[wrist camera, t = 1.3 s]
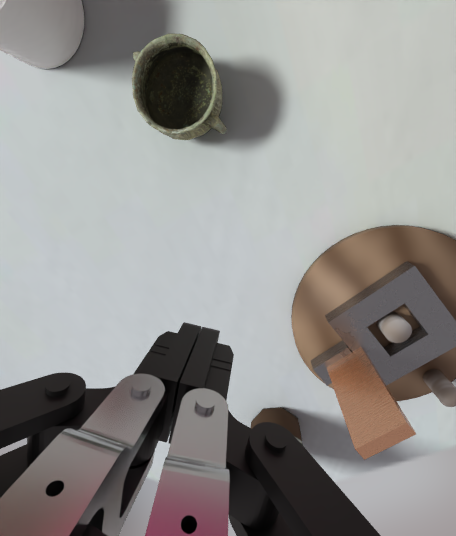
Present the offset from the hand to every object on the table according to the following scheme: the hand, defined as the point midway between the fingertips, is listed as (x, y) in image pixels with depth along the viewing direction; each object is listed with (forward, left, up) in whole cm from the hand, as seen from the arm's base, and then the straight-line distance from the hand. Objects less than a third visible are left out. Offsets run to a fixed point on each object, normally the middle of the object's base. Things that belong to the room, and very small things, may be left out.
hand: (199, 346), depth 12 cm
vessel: (-7, -15, -27) cm, 32 cm away
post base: (-5, +21, -27) cm, 35 cm away
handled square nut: (-2, +21, -25) cm, 33 cm away
